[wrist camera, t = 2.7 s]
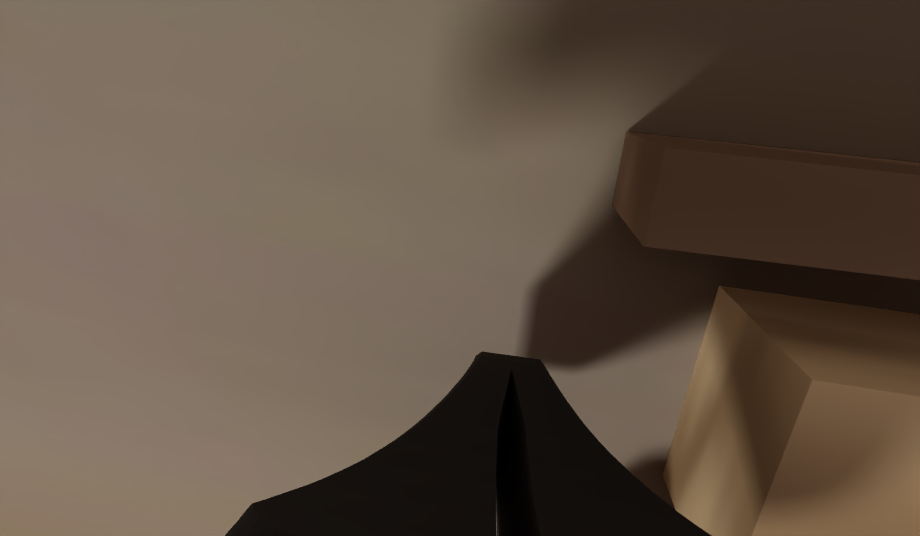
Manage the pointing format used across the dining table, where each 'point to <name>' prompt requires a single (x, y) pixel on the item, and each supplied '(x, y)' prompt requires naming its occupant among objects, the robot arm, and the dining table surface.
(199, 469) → the dining table surface
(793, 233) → the walnut channel
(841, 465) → the oak block
